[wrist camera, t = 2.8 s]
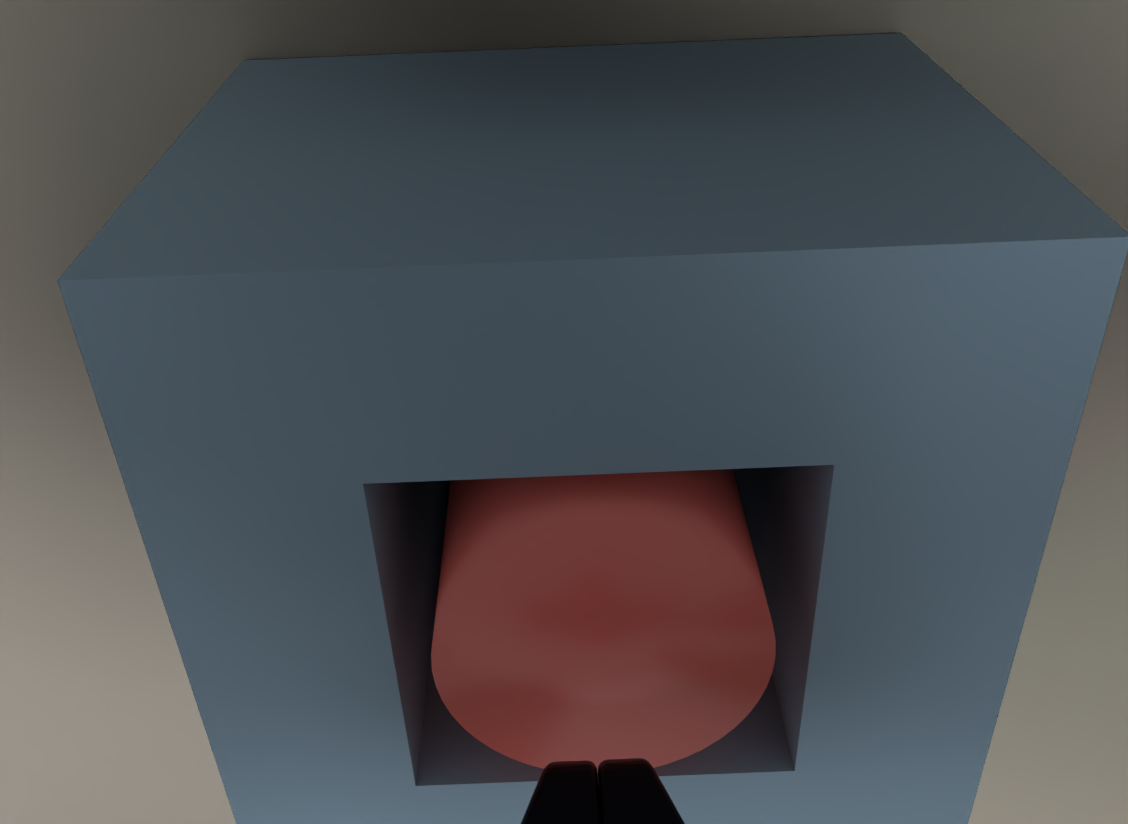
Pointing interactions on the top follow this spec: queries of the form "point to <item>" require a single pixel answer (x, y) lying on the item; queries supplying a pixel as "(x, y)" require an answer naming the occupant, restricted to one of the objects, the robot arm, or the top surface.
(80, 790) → the top surface
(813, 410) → the blue button housing
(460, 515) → the button
